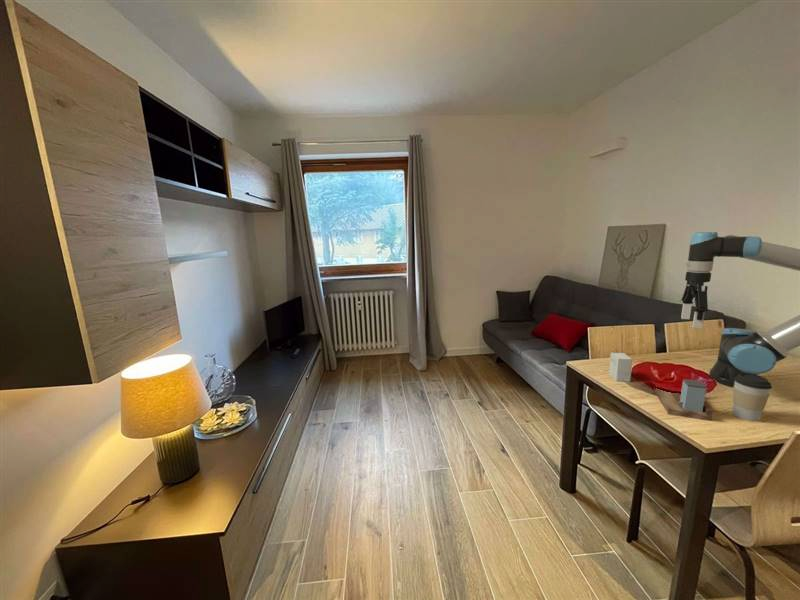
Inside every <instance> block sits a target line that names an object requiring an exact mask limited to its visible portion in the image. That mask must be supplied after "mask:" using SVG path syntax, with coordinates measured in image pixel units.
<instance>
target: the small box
mask: <svg viewBox="0 0 800 600" xmlns="http://www.w3.org/2000/svg"><path fill="white" fill-rule="evenodd" d="M632 365H633V358H631V357H630V356H629V355H627V353H624V352H610V360H609V370H608V374H609V375H610V377H612V378H613V379H614V380H615V382H631V375H632Z"/></svg>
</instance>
